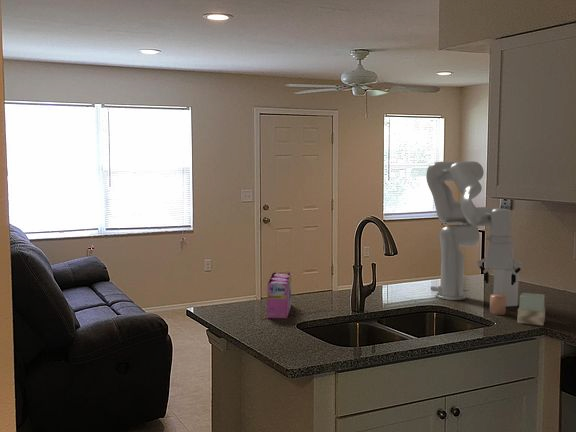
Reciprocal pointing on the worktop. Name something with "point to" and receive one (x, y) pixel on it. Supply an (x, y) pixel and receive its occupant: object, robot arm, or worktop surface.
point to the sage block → (531, 302)
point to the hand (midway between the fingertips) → (499, 283)
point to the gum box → (279, 296)
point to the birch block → (531, 317)
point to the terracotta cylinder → (498, 304)
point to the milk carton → (506, 286)
